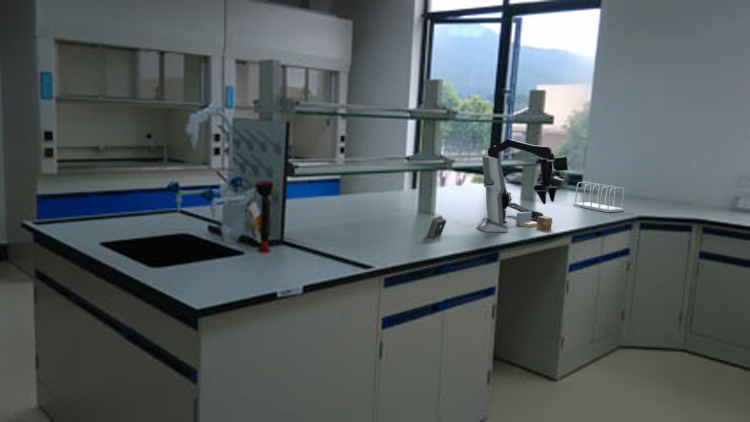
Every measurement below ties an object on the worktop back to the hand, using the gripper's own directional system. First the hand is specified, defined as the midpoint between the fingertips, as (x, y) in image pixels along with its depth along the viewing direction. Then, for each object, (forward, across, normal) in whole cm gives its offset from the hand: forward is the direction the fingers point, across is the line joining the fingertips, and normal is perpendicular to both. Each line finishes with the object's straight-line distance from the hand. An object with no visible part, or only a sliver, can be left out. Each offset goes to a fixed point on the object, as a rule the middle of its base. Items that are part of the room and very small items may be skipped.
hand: (548, 203), depth 299 cm
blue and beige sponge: (+11, -1, +11) cm, 16 cm away
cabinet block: (+13, -4, +2) cm, 13 cm away
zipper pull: (+11, +14, +21) cm, 28 cm away
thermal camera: (+9, -30, +16) cm, 35 cm away
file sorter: (+17, +95, +12) cm, 97 cm away
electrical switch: (+6, -67, +22) cm, 71 cm away
